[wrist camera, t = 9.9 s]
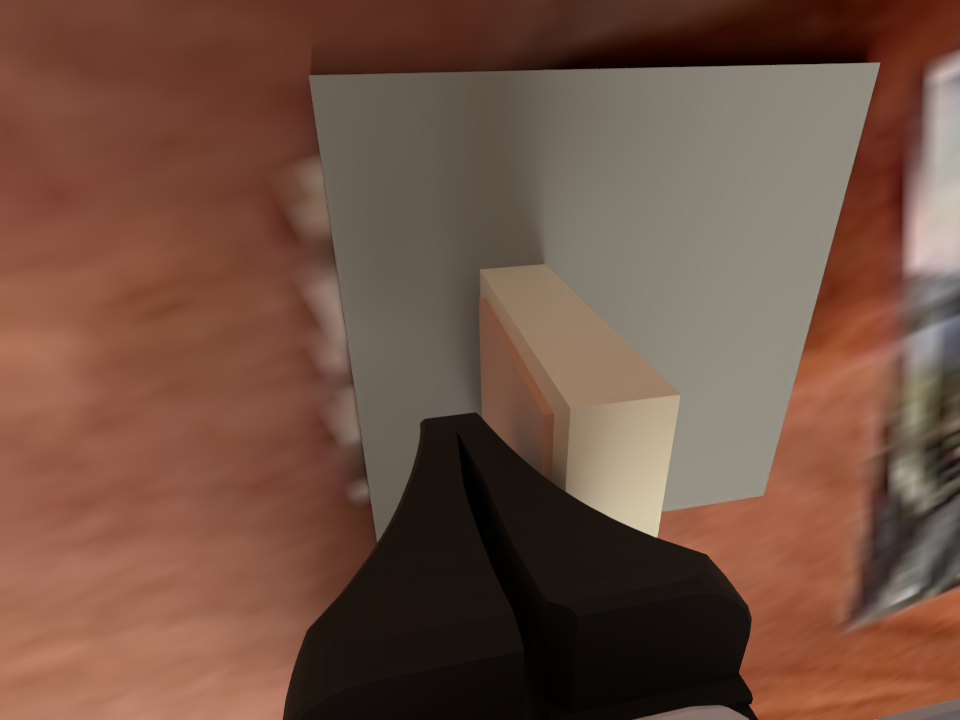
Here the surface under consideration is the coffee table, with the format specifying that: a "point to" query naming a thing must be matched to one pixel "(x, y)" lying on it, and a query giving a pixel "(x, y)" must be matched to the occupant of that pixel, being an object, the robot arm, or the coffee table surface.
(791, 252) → the mat
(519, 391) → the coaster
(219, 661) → the coffee table surface
